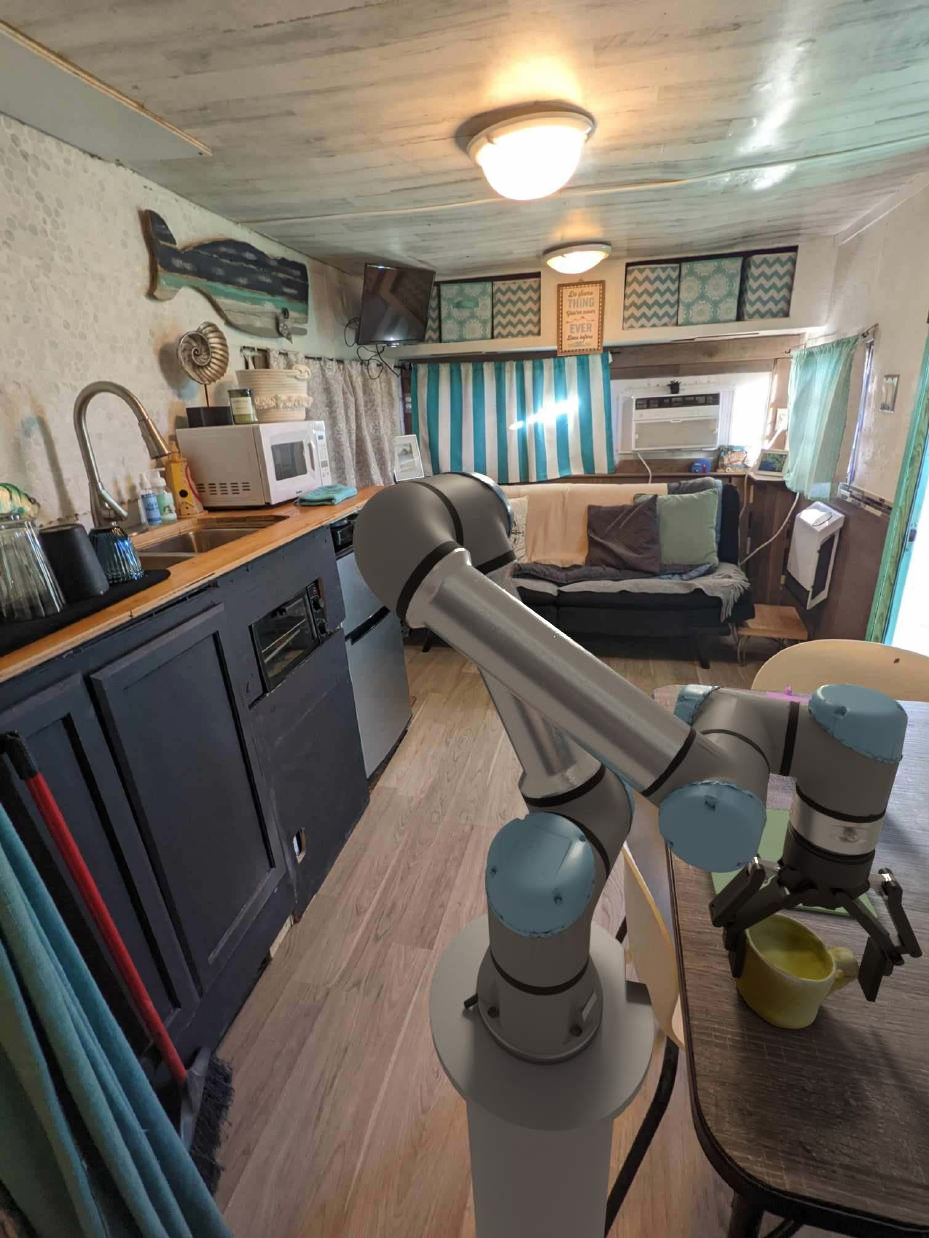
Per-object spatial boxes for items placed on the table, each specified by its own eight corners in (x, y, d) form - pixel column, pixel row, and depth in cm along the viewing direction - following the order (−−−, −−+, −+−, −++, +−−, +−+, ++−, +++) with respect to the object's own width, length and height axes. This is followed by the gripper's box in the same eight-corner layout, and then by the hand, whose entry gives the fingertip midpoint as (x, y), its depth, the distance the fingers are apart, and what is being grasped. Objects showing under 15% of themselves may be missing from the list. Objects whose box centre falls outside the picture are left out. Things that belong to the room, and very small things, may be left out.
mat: (715, 896, 77) (716, 893, 77) (694, 802, 95) (695, 800, 95) (877, 920, 72) (878, 917, 72) (823, 817, 90) (824, 814, 90)
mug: (732, 1023, 59) (759, 941, 58) (716, 962, 69) (739, 891, 68) (857, 1076, 56) (888, 991, 55) (822, 1004, 66) (848, 930, 65)
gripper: (704, 842, 55) (686, 988, 62) (1004, 878, 49) (944, 1035, 56) (694, 794, 62) (678, 931, 69) (955, 820, 56) (907, 967, 63)
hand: (797, 978), depth 63 cm, fingers open, 13 cm apart
